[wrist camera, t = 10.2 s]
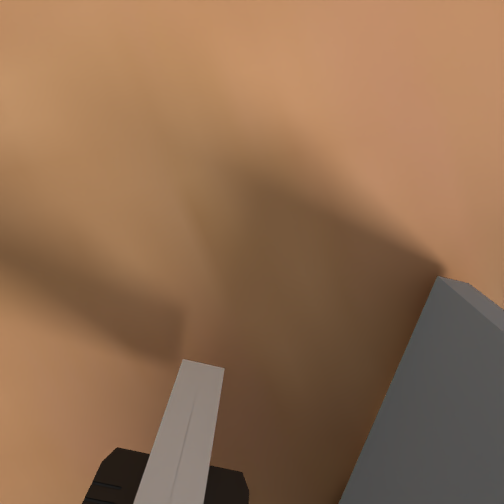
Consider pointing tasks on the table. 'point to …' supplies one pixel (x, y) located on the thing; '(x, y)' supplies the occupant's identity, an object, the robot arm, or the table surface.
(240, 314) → the table surface
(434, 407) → the thin blue-grey panel
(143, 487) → the robot arm
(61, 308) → the table surface
